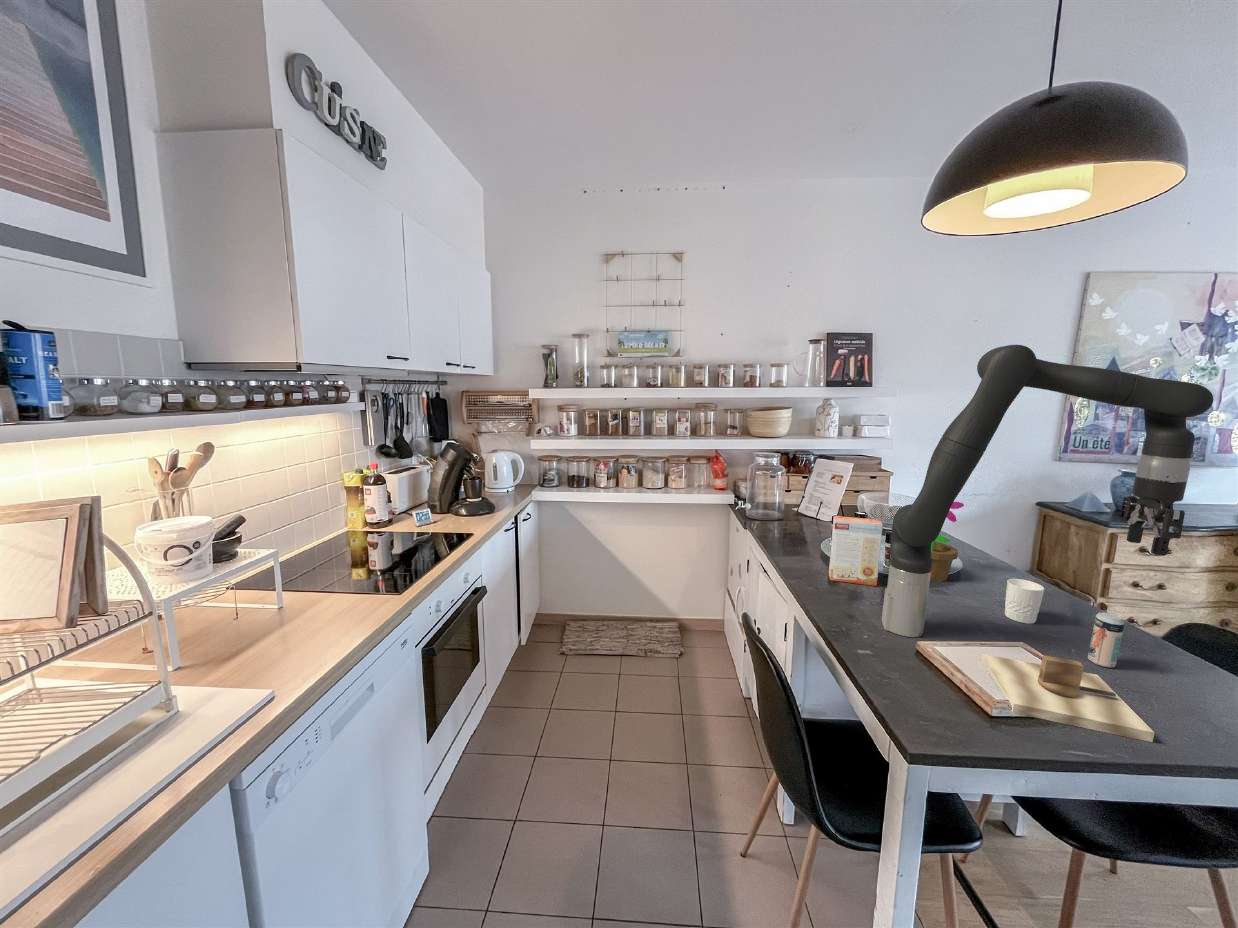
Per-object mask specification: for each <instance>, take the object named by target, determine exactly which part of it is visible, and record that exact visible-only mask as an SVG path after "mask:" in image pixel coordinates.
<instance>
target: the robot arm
mask: <svg viewBox="0 0 1238 928" xmlns="http://www.w3.org/2000/svg"><path fill="white" fill-rule="evenodd" d="M976 366H977V367H976V371H977V375H978V376H979V378H980V379H981V380H980V383H979V384H978V387H977V388H976V391H975V392H974V394H973V396H972V398H971V399H970V400H969V402H968V404H967V405H966V406H965V407H964V408H963V409H962V411H961V412H960V413H959V414H958V415H957V416H956V417H955V418H954V420H952V422H951V423H950V424H949V425H948V426H947V428H946V429H945V430H944V432H943V434H942V436H941V438H940V440H939V441H938V443H937V445H936V446H935V448H934V450H933V452H932V455H931V457H930V461H929V464H928V466H927V471H926V474H925V478H924V482H923V485H922V487H921V489H920V492H919V493H918V495H917V497H916V498H915V500H914V501H913V503H912V504H911V503H910V504H907V505H903V506H902V507H900V508H899V509H898V510H896V512H895V514H894V516H893V520H892V524H891V525H892V527H891V537H890V546H889V547H890V550H889V552H890V558H889V559H890V561H889V568H888V577H887V587H885V588H884V596H883V603H882V605H883V606H882V614H881V623H882V625H883V629H884V631H888V632H891V633H894V634H895V635H899V636H903V637H907V638H908V637H909V638H919V637H922V635H923V634H924V629H925V620H926V615H927V605H928V597H929V590H930V583H931V581H930V576H931V569H932V557H931V543H932V542H933V541H934V540H935V541H936V538H937V537H938V535H940V533H941V531H942V529H943V526H944V524H945V521H946V519H947V515H948V513H949V511H951V506H952V504H953V502H955V500H956V499H957V497H958V495H959V494H960V492H961V491H962V490H963V488H964V487H965V484H966V483H967V481H969V478H971V476H972V473H973V471H975V469H976V467H977V466H978V464H979V462H980V461H981V459H982V457H983V456H984V454H985V452H986V450H987V448H988V446H989V444H990V442H991V441H992V439H993V437H994V435H996V434H995V433H996V432H997V429H998V428H999V426H1000V424H1001V422H1002V420H1003V419H1004V416H1005V414H1006V413H1007V411H1008V410H1009V408H1010V406H1011V405H1012V403H1013V402H1014V401H1015V399H1016V398H1017V397H1018V396H1019V394H1020V393H1021V391H1022V390H1023V389H1024V387H1025V388H1033V389H1039V390H1040V389H1041V390H1045V391H1051V392H1054V393H1060V394H1064V395H1068V396H1072V397H1077V398H1081V399H1086V400H1089V401H1093V402H1098V403H1104V404H1108V405H1112V406H1118V407H1126V408H1136V409H1137V408H1138V409H1141V410H1143V416H1144V428H1145V439H1144V442H1143V446H1142V452H1141V455H1140V459H1139V461H1138V463H1137V467H1136V473H1135V477H1134V481H1133V486H1132V491H1131V494H1132V495H1129V496H1128V497H1127V502H1126V505H1125V510H1124V514H1123V521H1126V522H1127V525H1128V531H1127V535H1126V541H1127V542H1129V543H1131V544H1133V543H1134V544H1140V543H1141V542H1142V538H1143V534H1144V529H1145V526H1146V524H1148V525H1149V527H1150V528H1151V529H1153V534H1154V537H1153V540H1152V545H1151V549H1150V553H1151V554H1153V555H1155V556H1166V555H1167V553H1168V548H1169V545H1170V541H1171V540H1174V539H1177V540H1180V539H1181V537H1182V531H1183V526H1184V519H1185V515H1186V511H1185V510H1181V509H1174V503H1176V502H1183V500H1184V496H1185V492H1186V488H1187V483H1188V479H1189V475H1190V470H1191V458H1192V454H1193V449H1194V445H1195V437H1196V436H1195V434H1194V432H1192V431H1191V430H1189V429H1188V428H1187V418H1192V417H1193V418H1194V417H1197V416H1200V415H1203V414H1204V413H1206V412H1207V411H1208V410H1210V409H1211V407H1212V406H1213V404H1214V396H1213V393H1212V391H1211V390H1210V389H1208V388H1207V387H1205V386H1204V385H1201V384H1197V383H1195V382H1194V383H1193V382H1187V381H1180V380H1174V379H1166V378H1165V379H1164V378H1158V377H1157V378H1154V377H1149V376H1143V375H1141V374H1140V375H1139V374H1136V373H1131V372H1125V371H1122V370H1121V371H1119V370H1115V369H1109V368H1101V367H1095V366H1084V365H1074V364H1068V363H1067V364H1066V363H1059V362H1052V361H1049V360H1043V359H1040V358H1037V356H1036V353H1035V352H1034V351H1033V350H1032V349H1031V348H1029V346H1027V345H1023V344H1008V345H1003V346H999V347H995V348H992V349H990V350H988V351H987V352H985V354H983V355H982V356H981V357H980V359H979V360H978V362H977V365H976ZM1173 528H1174V530H1173Z"/></svg>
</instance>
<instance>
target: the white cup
mask: <svg viewBox="0 0 1238 928" xmlns="http://www.w3.org/2000/svg"><path fill="white" fill-rule="evenodd" d="M1006 581H1007V582H1006V591H1005V602H1004V603H1005V606H1004V614H1005V616H1006V617H1007V618H1008V619H1011V621H1015V622H1018V623H1023V624H1028V625H1029V624H1035V623H1036V622H1037V619H1038V615H1039V612H1040V607H1041V604H1042V600H1043V597H1044V593H1045V587H1044V586H1043V585H1041V584H1039V583H1036V582H1034V581H1031V580H1026V579H1022V578H1021V579H1020V578H1009V579H1007V580H1006Z"/></svg>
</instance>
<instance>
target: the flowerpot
mask: <svg viewBox="0 0 1238 928" xmlns="http://www.w3.org/2000/svg"><path fill="white" fill-rule="evenodd" d="M964 504H965V503H963V502H961V501H954V502H953V504H952V506H951V508H950V510H949V513H948V515H947V517H946V519H947V520H948V521H950V522H952V523H955V522H957V516H956V515H955V513H954V512H952V510H957V509H958V510H959V509H961V508H963V507H965V505H964ZM950 542H951V540H950V539H949V538H947V537H945V536H943V535H941V534H939V535H938V537H937V538H936V539H935V540H934V541H933V542H932V543H931V557H932V569H931V576H930V582H937V583H940V582H941V583H942V582H946V581H947V580H948V577H949V573H950V570H951V568H952V563H953V561H954V560H957V559H958V555H959V550H958V549H957V548H955V547H953V546H952V545H950V544H945V543H950Z"/></svg>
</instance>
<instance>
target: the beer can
mask: <svg viewBox="0 0 1238 928" xmlns="http://www.w3.org/2000/svg"><path fill="white" fill-rule="evenodd" d="M1093 623H1094V624H1093V628H1092V634H1091V638H1090V643H1089V648H1088V653H1087V659H1088V660H1089V661H1090V662H1092V663H1093V664H1095V665H1096V666H1099V667H1103V668H1115V667H1116V666H1117V662H1118V657H1119V653H1120V652H1119V651H1120V648H1121V642H1122V638H1123V633H1124V629H1125V625H1126V624H1125V621H1124V619H1123V617H1122V616H1120V615H1118V614H1115V613H1113V612H1107V611H1098V613H1097V614H1096V615H1095V618H1094V622H1093Z"/></svg>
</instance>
